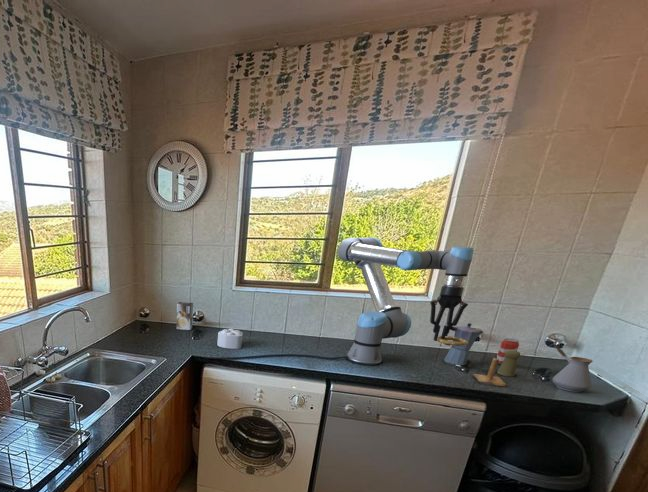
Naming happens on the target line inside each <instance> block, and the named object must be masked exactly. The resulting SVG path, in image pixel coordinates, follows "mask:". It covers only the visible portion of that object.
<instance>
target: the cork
mask: <svg viewBox="0 0 648 492" xmlns="http://www.w3.org/2000/svg"><path fill="white" fill-rule="evenodd" d="M520 358H521V352H520V351H518V350H517V351H514V350H508V351H506V352H505V359H504V360H503V362H502V364H500V366H499V368H498V370H497V372H496V373H497V374H498V375H501V376H504V377H515V375H516V369H517V363H518V359H520Z"/></svg>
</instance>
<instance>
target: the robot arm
mask: <svg viewBox="0 0 648 492" xmlns="http://www.w3.org/2000/svg"><path fill="white" fill-rule="evenodd" d="M474 252H475V250H474V248H473V247H470V246H453V247H452V248H451V249H450V251H446V250H445V251H444V250H436V249H430V250H429V249H427V250H420V251H419V250H410V249H409V250H408V249H402V248H395V247H394V248H393V247H386V246H383V243H382V242H381V240H380V239H378V238H376V237H370V236H366V237H349V238H345V239H344V240H343V241H341V242H340V243H339V245H338V247H337V256H338V258H339V259H340V260H342V261H343V262H349V263H351V262H352V263H354V265H355V266H356V269H358V270H360V271H361V273H362V276H363V280H364V281H365V284H366V287H367V290H368V293H369V295H370V298H371V301H372V304H373V307H374V309H375V311H374V310H373V311H365V312H363V313H361V314H360V315H359V316H358V320H357V324H356V329H355V334H354V339H353V344H352V345H351V347H350V349H349V350H348V351H347V354H346V356H345V355H344V356H334V357H333V356H332V357H330V356H322V355H312V354H299V353H298V354H297V353H279V354H278V353H276V354H260V355H248V356H247V355H246V356H229V357H228V356H227V357H226V356H223V357H222V356H205V359H209V360H238V359H252V358H253V359H255V358H266V357H267V358H268V357H309V358H310V357H311V358H318V359H325V360H339V359H346V360H349V361H350V362H351V363H355V364H359V365H363V366H377V365H380V364H381V363H382V361H383V357H382V349H381V346H382V340H383V339H391V338H393V339H394V338H399V337H403V336H405V335H407V334H408V332H409V331H410V329H411V327H412V318H411V316H410V315H409V314H408V313H406V312H403V311H402V308H401V305H400V306H399V305H398V304H396V303H395V300H394V297H393V294H392V292H391V289H390V287H389V284H388V281H387V279H386V276H385V273H384V271H383V269H382V266H381V265H383V266H388V267H394V268H399V269H400V270H403V271H416V270H417V271H418V270H442V271H445V274H444V277H443V279H442V280H443V281H442V286H441V288H440V291H439V296H438V297H437V298H436V299H433V300H430V301H429V304H430V316H429V317H430V319H429V322H430V324H431V325H433V329H432V333H434V336H433V341H434V342H438V341H437V338H438V337H439V334H440V331H441V330H440V329H441V325H440V323H441V321H442V318H443V315H444V312H445V311H446V309H448V313H447V318H446V319H447V320H446V325H443V328H442V332H441V335H440V336H441V339H443V340H444V339H445V335H446V334H448V335H449V334H450V331H451V330H450V327H451V326H453V327H457V325H458V323H459V321H460V319H461V316H462V314H463V312H464V310H465V309H466V308H467V307H468V306H469V304H468V303H467V302H464V301H463V299H462V297H463V293H464V289H465V287H464V286H466V282H467V279H468V274H469V270H470V268H471V264H472V261H473V257H474ZM438 304H439V306H440V307H439V310H438V313H437V315H436V308H437V307H436V306H437V305H438ZM458 306H459V307H458ZM456 307H458V309H457V312H456V314H455V316H454V311H455V308H456ZM453 317H454V318H453Z"/></svg>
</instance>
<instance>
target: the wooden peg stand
mask: <svg viewBox="0 0 648 492" xmlns="http://www.w3.org/2000/svg"><path fill="white" fill-rule="evenodd" d="M498 361H499V359H497V358H496V357H493V358H492V361H491V363H490V366H489V368H488V372H487V374H479V373H473V376H474V377H475V378H476V379H477V381H478V382H480V383H487V384H491V385H492V386H498V387H506V386H507V383H506V382H505V381H504V380H502V378H500V377H499V376H495V372H496V369H497V367H498Z"/></svg>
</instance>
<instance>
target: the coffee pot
mask: <svg viewBox="0 0 648 492" xmlns="http://www.w3.org/2000/svg"><path fill="white" fill-rule="evenodd" d="M552 346H553V348H554V349H556V350H557V352H558V353H559V354H560V355H561V356H562V358H564V359H565V360H566V361H567V362H568V364H566V366H565V367H564V368H563V369H561V370H560V371H558V373H556V374H555V375H554V376H553V377H552V383H553V384H554V385H555V386H556V387H557V388H558V389H560V390H562V391H568V392H573V393H582V392H584V391H587V390H589V389H590V388H592V379H591V374H590V368H589V365H590V364H591V363H593V360H592V359H590V358H587V357H581V356H570V357H568V356H567V354H566V353H565V352H564V351H563V349H562V348H560V347H559V345H557V344H556V343H552V344H550V345H549V347H552Z"/></svg>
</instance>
